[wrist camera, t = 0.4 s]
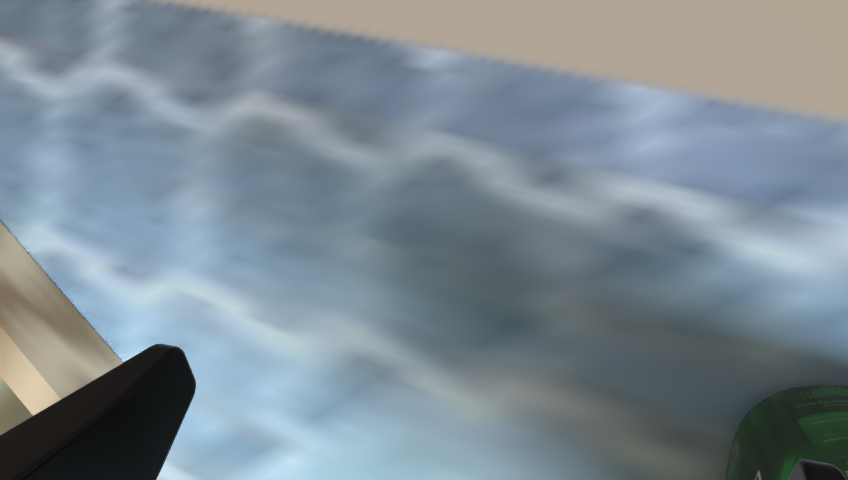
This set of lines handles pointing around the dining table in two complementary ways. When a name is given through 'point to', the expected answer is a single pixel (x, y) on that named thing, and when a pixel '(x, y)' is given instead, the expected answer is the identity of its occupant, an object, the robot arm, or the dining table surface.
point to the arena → (41, 339)
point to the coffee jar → (792, 433)
